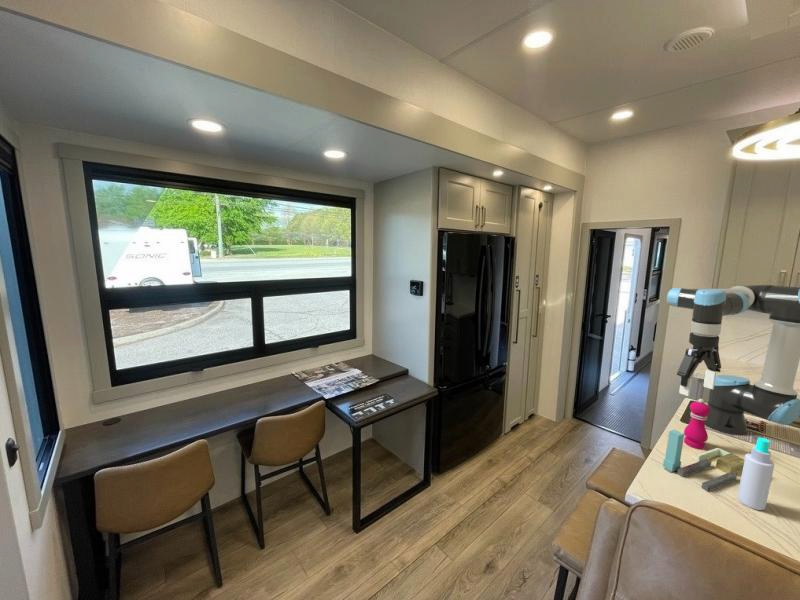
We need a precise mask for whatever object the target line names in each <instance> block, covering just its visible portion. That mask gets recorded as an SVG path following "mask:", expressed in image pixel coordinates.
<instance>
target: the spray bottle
mask: <svg viewBox="0 0 800 600" xmlns="http://www.w3.org/2000/svg"><path fill="white" fill-rule="evenodd" d="M770 442H771V441H770V440H769V439H767V438H764V437H757V440H756V445H755V446H753V447H752V448H751V451H750V453H746V454H744V455H745V457H744V459H745V460H744V465H743V470H741V477H740V482H739V486H738V492H737V499H738V501H739V502H740V503H741V504H742V505H744V506H746V507H747V508H750V509H753V510H757V511H763V510H765V509H766V507H767V503H768V497H769V494H770V493H769V492H770V488H771V483H772V479H773V474H774V469H775V463H774V461H772V460H771V456H772V452H771V451H769V449H770Z"/></svg>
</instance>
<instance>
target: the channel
mask: <svg viewBox="0 0 800 600" xmlns="http://www.w3.org/2000/svg"><path fill="white" fill-rule="evenodd" d="M711 467H712V461H711V460H709V459H705V460H702V461H700V462H698V461H696V462H694V463H691V464H689V465H685V466H683V467H682V466H681V467H680V468H679V469H678V470H677V472H676V473H677V475H678V476H679V477H682V478H683V477H685V476H689V475H692V474H694V473H696V472H701V471H703V470H706V469H708V468H711ZM737 476H738V474H736V473H733V472H729V473H724V474H722V475H718V476H716V477H714V478H712V479H708V480H706V481H704V482H701V487H700V489H702V490H703V491H705V492H709V491H712V490H715V489H716V488H719V487H721V486H725V485H727V484H729V483H731V482H734V481H736V480H737Z"/></svg>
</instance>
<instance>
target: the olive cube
mask: <svg viewBox="0 0 800 600" xmlns="http://www.w3.org/2000/svg"><path fill="white" fill-rule="evenodd" d="M729 453H730V452H729ZM724 456H726V457H728V458H730V459H732V460H734V461H736V462H738V466H737V471H736V473H737V472H740V471H743V465H744V460H745V458H743V457H740V456H738V455H736V454H735V453H732V452H731V453H730V454H727V455H724Z"/></svg>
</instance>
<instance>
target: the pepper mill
mask: <svg viewBox="0 0 800 600" xmlns="http://www.w3.org/2000/svg"><path fill="white" fill-rule="evenodd" d="M707 404H708V403H707ZM707 404H706V403H705V400H704V399H703V398H699V399H698V401H692V402H691V403H690V405H689V409H690V411H691V412H690V417H691V419H690V421H689V423H688V424H687V425H686V426H685V428H684V431H683V434H684V440H683V444H685V445H687V446H688V447H691V448H692V449H697V450H703V449H705V447H706V442H707V441H708V439H709V437H708V432H707V430H706V425H705V420H707V415H708V414H709V413H710V408H709V406H708V405H707Z"/></svg>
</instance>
